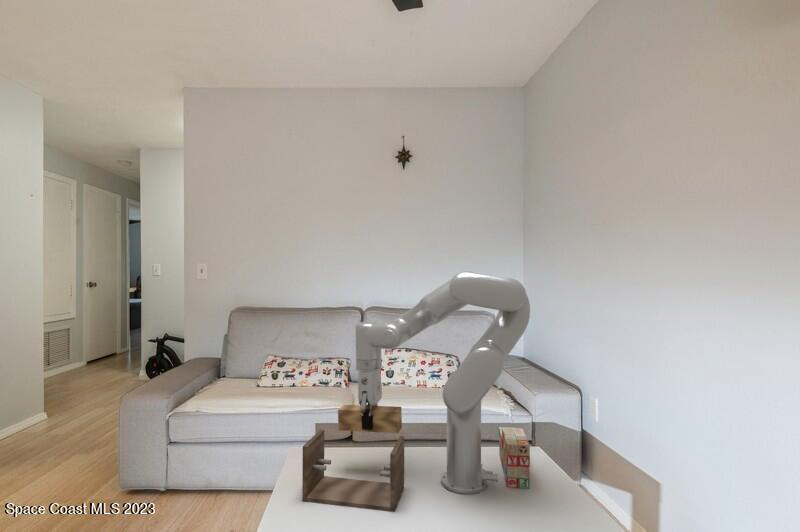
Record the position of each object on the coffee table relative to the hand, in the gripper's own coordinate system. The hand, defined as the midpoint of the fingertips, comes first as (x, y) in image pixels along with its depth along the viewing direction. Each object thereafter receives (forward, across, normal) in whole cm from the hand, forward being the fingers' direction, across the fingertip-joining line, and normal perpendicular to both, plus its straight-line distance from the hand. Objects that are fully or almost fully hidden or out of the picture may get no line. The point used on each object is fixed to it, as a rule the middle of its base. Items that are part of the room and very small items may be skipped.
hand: (370, 425), depth 127 cm
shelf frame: (+14, -13, +1) cm, 19 cm away
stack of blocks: (+15, +10, -41) cm, 45 cm away
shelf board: (+1, 0, 0) cm, 1 cm away
